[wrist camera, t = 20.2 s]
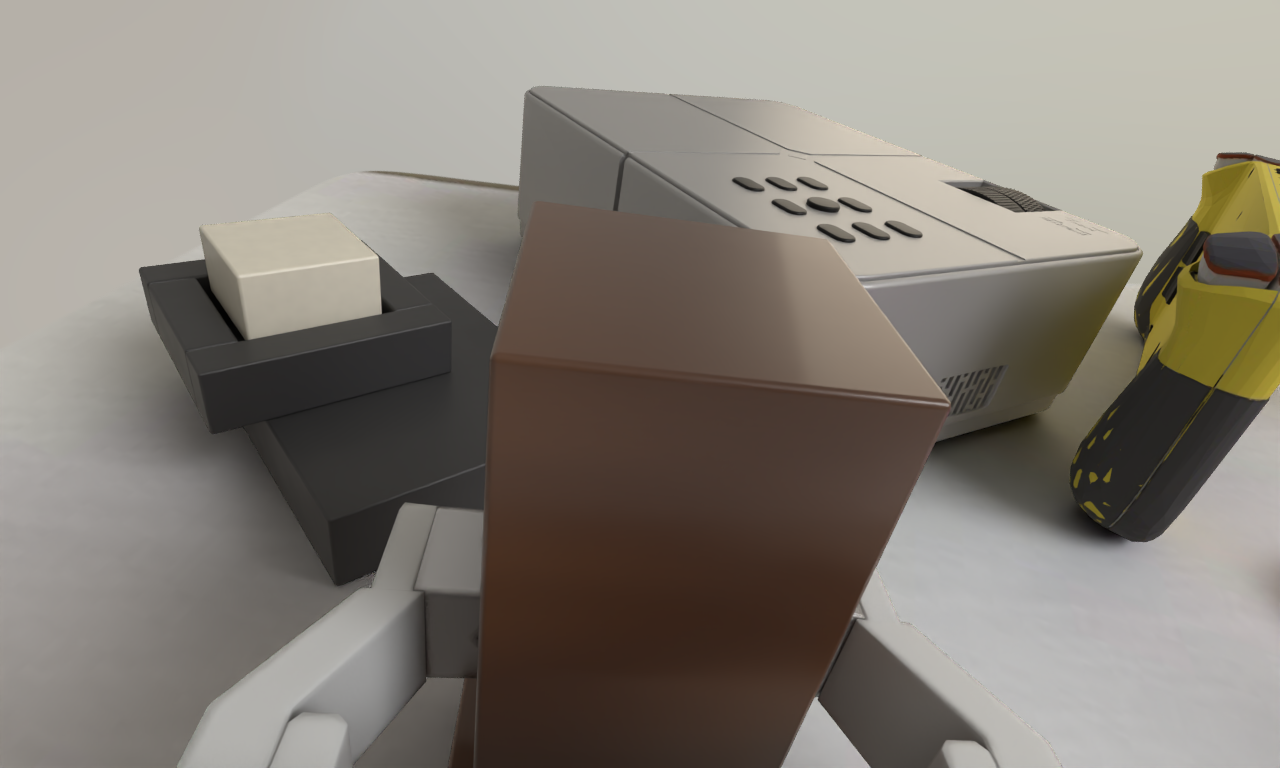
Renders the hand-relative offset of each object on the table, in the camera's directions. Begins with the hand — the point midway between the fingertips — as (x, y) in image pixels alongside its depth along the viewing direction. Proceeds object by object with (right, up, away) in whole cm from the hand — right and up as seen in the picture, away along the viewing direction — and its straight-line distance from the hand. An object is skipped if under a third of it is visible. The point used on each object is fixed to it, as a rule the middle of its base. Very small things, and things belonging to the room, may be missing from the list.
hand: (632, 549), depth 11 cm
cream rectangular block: (-10, +5, +9) cm, 15 cm away
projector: (+6, +6, +22) cm, 23 cm away
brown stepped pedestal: (-1, -5, +2) cm, 6 cm away
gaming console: (+22, +1, +20) cm, 30 cm away
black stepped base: (-8, +1, +11) cm, 14 cm away
